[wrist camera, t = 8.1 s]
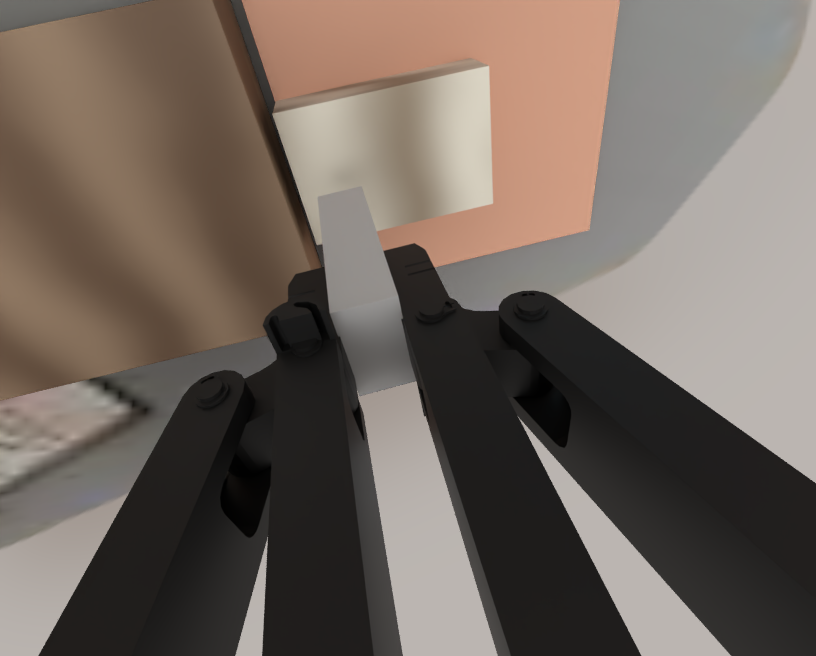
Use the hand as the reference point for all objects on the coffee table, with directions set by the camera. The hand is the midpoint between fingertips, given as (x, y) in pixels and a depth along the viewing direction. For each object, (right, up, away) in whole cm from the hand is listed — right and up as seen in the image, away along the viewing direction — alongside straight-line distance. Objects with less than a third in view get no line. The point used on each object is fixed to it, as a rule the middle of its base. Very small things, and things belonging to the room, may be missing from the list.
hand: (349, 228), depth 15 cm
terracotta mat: (+4, +7, +7) cm, 10 cm away
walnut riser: (-13, +2, +6) cm, 14 cm away
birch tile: (+1, +5, +6) cm, 8 cm away
